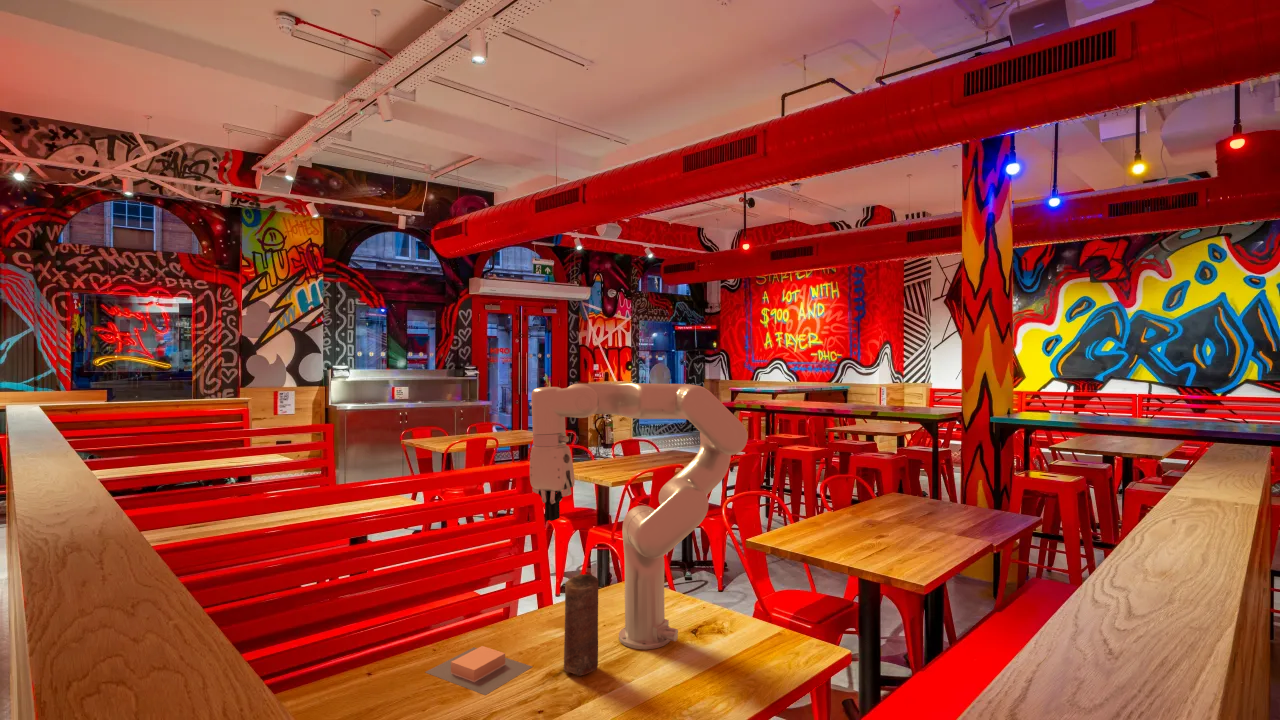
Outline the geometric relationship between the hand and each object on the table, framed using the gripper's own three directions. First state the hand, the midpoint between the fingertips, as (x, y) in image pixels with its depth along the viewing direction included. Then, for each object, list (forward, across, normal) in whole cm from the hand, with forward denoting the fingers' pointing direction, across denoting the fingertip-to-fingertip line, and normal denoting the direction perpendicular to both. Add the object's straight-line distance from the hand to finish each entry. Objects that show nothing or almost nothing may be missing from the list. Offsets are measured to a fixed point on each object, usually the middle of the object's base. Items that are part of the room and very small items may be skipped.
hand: (552, 519), depth 155 cm
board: (+30, +7, +18) cm, 36 cm away
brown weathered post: (+31, -12, +6) cm, 33 cm away
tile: (+27, +10, +18) cm, 35 cm away
